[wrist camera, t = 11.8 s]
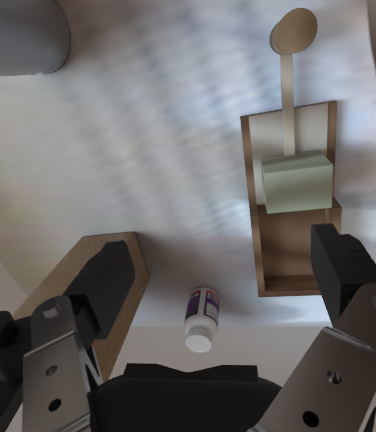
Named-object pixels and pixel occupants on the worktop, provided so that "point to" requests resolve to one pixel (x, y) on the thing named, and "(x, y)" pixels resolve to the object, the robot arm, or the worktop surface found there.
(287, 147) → the string block
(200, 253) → the worktop surface
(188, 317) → the pill bottle
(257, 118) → the lane
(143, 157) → the worktop surface
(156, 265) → the worktop surface
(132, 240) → the wooden block
